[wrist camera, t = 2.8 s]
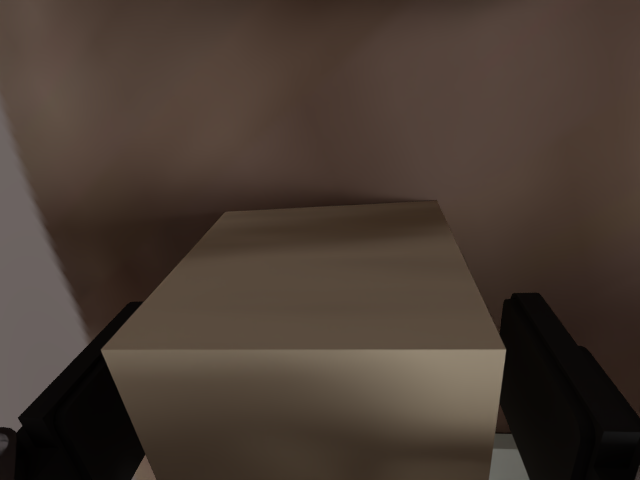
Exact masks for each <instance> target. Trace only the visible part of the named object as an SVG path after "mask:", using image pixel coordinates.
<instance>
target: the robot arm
mask: <svg viewBox="0 0 640 480" xmlns="http://www.w3.org/2000/svg"><path fill="white" fill-rule="evenodd" d="M142 303H143V302H130V303H129V304H127V305H126V306H125V307H124V308H123V310H122V311H121V312H120V313H119V314H118V315H117V316H116V317H115V318H114V319H113V320H112V321H111V322H110V323H109V324H108V325H107V326H106V327H105V328H104V329H103V330H102V331H101V332H100V333H99V334H98V335H97V336H96V337H95V339H94V340H93V341H92V342H91V343H90V344H89V345H88V346H87V347H86V348H85V349H84V350H83V351H82V352H81V353H80V354H79V355H78V356H77V357H76V358H75V359H74V360H73V361H72V362H71V363H70V365H68V367H67V368H66V369H65V370H64V371H63V372H62V373H61V374H60V375H59V376H58V377H57V378H56V379H55V380H54V381H53V382H52V383H51V384H50V385H49V386H48V387H47V388H46V389H45V390H44V391H43V392H42V394H40V396H39V397H38V398H37V399H36V400H35V401H34V402H33V403H32V404H31V405H30V406H29V407H28V408H27V409H26V410H25V411H24V412H23V413H22V414H21V415H20V416H19V417H18V419H19V420H20V422H21V424H22V427H21V428H20V429H19V430H18V432H17V433H16V432H15V431H14V430H12V429H11V428H6V427H0V480H131V479H132V477H133V476H134V474H135V472H136V470H137V468H138V467H139V465H140V463H141V461H142V459H143V458H144V456H145V452H144V449H143V447H142V445H141V443H140V440H139V438H138V436H137V433H136V431H135V429H134V426H133V424H132V422H131V419H130V417H129V415H128V412H127V410H126V408H125V405H124V403H123V401H122V398H121V396H120V394H119V391H118V389H117V387H116V384H115V382H114V380H113V377H112V375H111V373H110V370H109V368H108V366H107V363H106V361H105V359H104V356H103V354H102V352H101V349H102V348H103V347H104V346H105V344H106V343H107V342H108V341H109V340H110V339H111V338H112V337H113V336H114V334H115V333H116V332H117V331H118V330H119V329H120V328H121V327H122V326H123V324H124V323H125V322H126V321H127V320H128V319H129V318H130V317H131V316H132V315H133V313H134V312H135V311H136V310H137V309H138V308H139V307H140V306H141V305H142ZM500 337H501V339H502V342H503V344H504V346H505V348H506V355H505V363H504V370H503V378H502V385H501V392H500V400H499V402H500V405H501V407H502V410H503V412H504V415H505V417H506V420H507V423H508V425H509V428H510V430H511V433H512V436H513V438H514V441H515V443H516V446H517V449H518V451H519V454H520V456H521V459H522V461H523V464H524V467H525V469H526V472H527V474H528V477H529V480H640V418H639V416H638V415H637V414H636V413H635V411H634V410H633V409H632V407H631V406H630V405H629V403H628V402H627V401H626V399H625V398H624V397H623V395H622V394H621V393H620V391H619V390H618V389H617V387H616V386H615V385H614V383H613V382H612V381H611V379H610V378H609V377H608V376H607V374H606V373H605V372H604V370H603V369H602V368H601V366H600V365H599V364H598V362H597V361H596V360H595V358H594V357H593V356H592V354H591V353H590V352H589V351H588V350H587V349H586V348H585V347H582V346H578V345H577V344H576V342H575V341H574V340H573V338H572V337H571V336H570V334H569V333H568V332H567V330H566V329H565V327H564V326H563V325H562V323H561V322H560V321H559V319H558V318H557V317H556V315H555V314H554V312H553V311H552V310H551V308H550V307H549V306H548V304H547V303H546V302H545V300H544V299H543V297H542V296H541V295H540V294H539V293H514V294H512V296H511V299H505V300H504V303H503V310H502V319H501V327H500Z"/></svg>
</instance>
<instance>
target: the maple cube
mask: <svg viewBox="0 0 640 480" xmlns="http://www.w3.org/2000/svg"><path fill="white" fill-rule="evenodd" d="M101 352H102V354H103V356H104V359H105V361H106V363H107V366H108V368H109V370H110V373H111V375H112V377H113V380H114V382H115V384H116V387H117V389H118V391H119V394H120V396H121V398H122V401H123V403H124V405H125V408H126V410H127V412H128V415H129V417H130V419H131V422H132V424H133V426H134V429H135V431H136V433H137V436H138V438H139V440H140V443H141V445H142V447H143V449H144V452H145V454H146V456H147V459H148V461H149V463H150V466H151V468H152V470H153V473H154V475H155V477H156V480H489V475H490V467H491V460H492V452H493V445H494V437H495V430H496V422H497V415H498V407H499V400H500V392H501V385H502V378H503V370H504V363H505V355H506V348H505V346H504V344H503V342H502V339H501V337H500V335H499V333H498V331H497V329H496V327H495V324H494V322H493V320H492V318H491V316H490V314H489V312H488V309H487V307H486V305H485V303H484V301H483V299H482V297H481V294H480V292H479V290H478V288H477V286H476V284H475V282H474V279H473V277H472V275H471V273H470V271H469V269H468V267H467V264H466V262H465V260H464V258H463V256H462V254H461V252H460V249H459V247H458V245H457V243H456V241H455V239H454V237H453V234H452V232H451V230H450V228H449V226H448V224H447V222H446V219H445V217H444V215H443V213H442V211H441V209H440V207H439V204H438V202H437V200H436V201H417V202H399V203H380V204H361V205H343V206H324V207H305V208H286V209H268V210H249V211H230V212H225V213H224V214H223V215H222V216H221V217H220V218H219V219H218V220H217V222H216V223H215V224H214V225H213V226H212V227H211V228H210V229H209V230H208V232H207V233H206V234H205V235H204V236H203V237H202V238H201V239H200V240H199V241H198V243H197V244H196V245H195V246H194V247H193V248H192V249H191V250H190V251H189V253H188V254H187V255H186V256H185V257H184V258H183V259H182V260H181V261H180V262H179V264H178V265H177V266H176V267H175V268H174V269H173V270H172V271H171V272H170V274H169V275H168V276H167V277H166V278H165V279H164V280H163V281H162V282H161V284H160V285H159V286H158V287H157V288H156V289H155V290H154V291H153V292H152V293H151V295H150V296H149V297H148V298H147V299H146V300H145V301H144V302H143V303H142V305H141V306H140V307H139V308H138V309H137V310H136V311H135V312H134V313H133V315H132V316H131V317H130V318H129V319H128V320H127V321H126V322H125V323H124V324H123V326H122V327H121V328H120V329H119V330H118V331H117V332H116V333H115V334H114V336H113V337H112V338H111V339H110V340H109V341H108V342H107V343H106V344H105V346H104V347H103V348H102V349H101Z"/></svg>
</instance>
